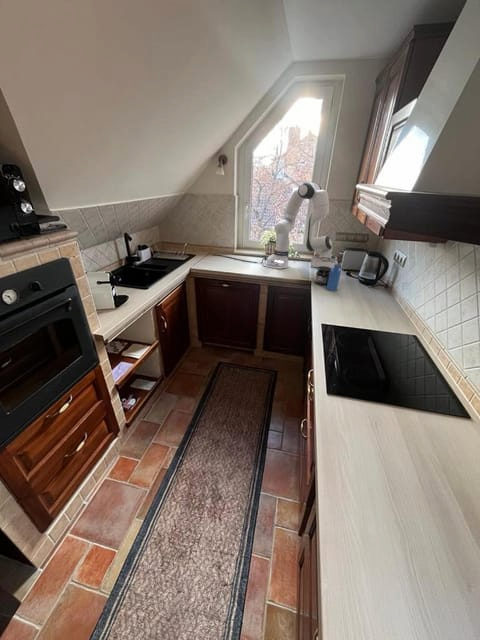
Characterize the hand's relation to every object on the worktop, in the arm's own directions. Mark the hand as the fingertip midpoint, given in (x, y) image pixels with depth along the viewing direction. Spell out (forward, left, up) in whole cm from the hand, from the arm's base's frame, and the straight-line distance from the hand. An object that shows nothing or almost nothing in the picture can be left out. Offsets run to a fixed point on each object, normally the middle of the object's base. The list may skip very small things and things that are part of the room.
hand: (322, 274), depth 195 cm
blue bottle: (+8, -15, -5) cm, 18 cm away
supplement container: (0, -6, -6) cm, 8 cm away
